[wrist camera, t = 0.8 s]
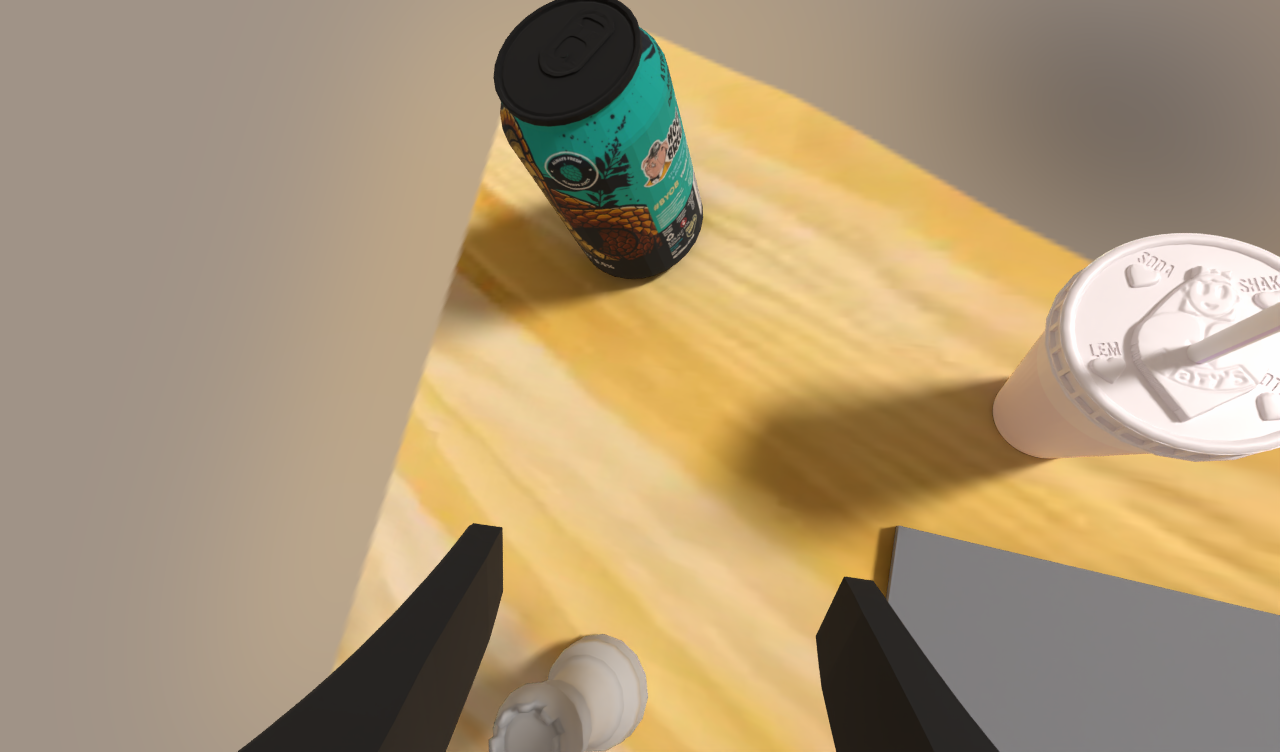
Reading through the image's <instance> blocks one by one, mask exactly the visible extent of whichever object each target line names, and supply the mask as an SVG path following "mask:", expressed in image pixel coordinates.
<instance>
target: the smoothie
mask: <svg viewBox="0 0 1280 752" xmlns="http://www.w3.org/2000/svg"><path fill="white" fill-rule="evenodd" d="M993 418H994V422H995V425H996V427H997V429H998V431H999V432H1000V434H1001V435H1002V437H1003V438H1004V439H1005V440H1006V441H1007V442H1008V443H1009V444H1010V445H1012V446H1013V447H1014V448H1016V449H1017V450H1019V451H1021V452H1023V453H1025V454H1028V455H1031V456H1034V457H1039V458H1069V457H1089V456H1109V455H1129V454H1149V453H1152V454H1154V455H1158V456H1164V457H1170V458H1176V459H1182V460H1188V461H1194V462H1198V461H1221V460H1235V459H1239V458H1242V457H1246V456H1249V455H1253V454H1256V453H1260V452H1263V451H1268V450H1272V449H1275V448H1279V447H1280V257H1278V256H1276V255H1274V254H1272V253H1270V252H1268V251H1266V250H1263V249H1261V248H1259V247H1256V246H1253V245H1251V244H1248V243H1245V242H1241V241H1238V240H1234V239H1230V238H1225V237H1220V236H1215V235H1206V234H1194V233H1173V234H1162V235H1156V236H1150V237H1146V238H1142V239H1137V240H1134V241H1131V242H1129V243H1126V244H1123V245H1121V246H1119V247H1116V248H1114V249H1112V250H1110V251H1108V252H1107V253H1105V254H1104V255H1102V256H1100V257H1099V258H1097V259H1096V260H1095V261H1093V262H1092V263H1091V264H1090V265H1089V266H1087V267H1086V268H1084V269H1083V270H1081V271H1079V272H1078V273H1076V274H1075V275H1074V276H1073V277H1072V278H1071V279H1070V280H1069V281H1068V283H1067V284H1066V285H1065V286H1064V287H1063V288H1062V289H1061V291H1060V292H1059V293H1058V294H1057V295H1056V297H1055V300H1054V302H1053V304H1052V307H1051V309H1050V311H1049V314H1048V316H1047V318H1046V329H1045V331H1044V332H1043V333H1042V335H1041V336H1040V337H1039V339H1038V340H1037V341H1036V343H1035V344H1034V345H1033V347H1032V348H1031V349H1030V351H1029V352H1028V353H1027V355H1026V356H1025V357H1024V359H1023V360H1022V361H1021V363H1020V364H1019V365H1018V367H1017V368H1016V369H1015V371H1014V372H1013V373H1012V375H1011V376H1010V377H1009V379H1008V380H1007V381H1006V383H1005V384H1004V385H1003V387H1002V388H1001V389H1000V391H999V392H998V394H997V396H996V398H995V401H994V404H993Z"/></svg>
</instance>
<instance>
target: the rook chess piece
mask: <svg viewBox="0 0 1280 752" xmlns="http://www.w3.org/2000/svg"><path fill="white" fill-rule="evenodd" d="M647 699H648V693H647V682H646V674H645V672H644V670H643V668H642V666H641V663H640V661H639V659H638V657H637V655H636V654H635V653H634V652H633V651H632V650H631V649H630V648H629V647H628V646H627V645H626V644H625V643H624V642H623V641H621V640H618V639H616V638H613V637H611V636H608V635H605V634H600V635H588V636H585V637H583V638H581V639H580V640H578V641H576V642H574V643H573V644H571V645H570V646H569V647H568V648H566V649H564V650H563V652H562V653H561V654H560V656H559V657H558V658H557V660H556V661H555V662H554V664H553V665H552V667H551V669H550V673H549V676H548V680H546V681H544V682H542V683H527V684H525V685H523V686H521V687H520V688H518V689H516V690H515V691H513V692H511V693H510V695H509V696H508V697H507V699H506V700H505V701H504V703H503V704H502V705H501V707H500V708H499V711H498V714H497V717H496V720H495V722H494V727H493V737H492V738H491V739H489V752H593V751H607V750H609V749H610V748H612V747H614V746H616V745H617V744H619V743H621V742H623V741H624V740H625V738H627V737H629V736H630V735H631V734H632V732H633V731H634V730H635V728H636V727H637V726H638V724H639V723H640V721H641V720H642V719H643V715H644V711H645V707H646V703H647Z"/></svg>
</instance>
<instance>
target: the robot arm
mask: <svg viewBox="0 0 1280 752" xmlns="http://www.w3.org/2000/svg"><path fill="white" fill-rule="evenodd" d="M502 593H503V535H502V527H496V526H489V525H482V524H475V523H473V524H472V525H470V526H468V528H467V529H466V530H465V532H464V533H463V534H462V536H461V537H460V538H459V539H458V541H457V542H456V543H455V544H454V546H453V547H452V548H451V549H450V551H449V552H448V553H447V554H446V556H445V557H444V558H443V559H442V560H441V562H440V563H439V564H438V565H437V566H436V567H435V569H434V570H433V571H432V572H431V573H430V574H429V575H428V577H427V578H426V579H425V580H424V581H423V582H422V583H421V584H420V586H419V587H418V588H417V589H416V590H415V591H414V592H413V593H412V594H411V595H410V596H409V598H408V599H407V600H406V601H405V602H404V603H403V604H402V605H401V606H400V607H399V608H398V610H397V611H396V612H395V613H394V614H393V615H392V616H391V617H390V618H389V619H388V620H387V621H386V622H385V623H384V624H383V625H382V626H381V627H380V628H379V629H378V630H377V631H376V632H375V633H374V634H373V635H372V636H371V637H370V638H369V639H368V640H367V641H366V642H365V643H364V644H363V645H362V646H361V647H360V648H359V649H358V650H357V651H356V652H355V653H354V654H352V655H351V656H350V657H349V658H348V659H347V660H346V661H345V662H344V663H343V664H342V665H341V666H340V667H338V668H337V669H336V670H335V671H334V672H333V673H332V674H331V675H330V676H329V677H328V678H326V679H325V680H324V681H323V682H322V683H321V684H319V685H318V686H317V687H316V688H315V689H314V690H313V691H312V692H310V693H309V694H308V695H307V696H306V697H305V698H304V699H302V700H301V701H300V702H299V703H298V704H296V705H295V706H294V707H293V708H291V709H290V710H289V711H288V712H287V713H285V714H284V715H283V716H282V717H280V718H279V719H278V720H277V721H276V722H274V723H273V724H272V725H271V726H270V727H268V728H267V729H266V730H265V731H263V732H262V733H261V734H260V735H258V736H257V737H256V738H254V739H253V740H252V741H251V742H250V743H248V744H247V745H246V746H244V747H243V748H242V749H240V750H239V751H238V752H446V749H447V747H448V744H449V742H450V739H451V737H452V734H453V732H454V729H455V727H456V724H457V722H458V719H459V717H460V714H461V711H462V709H463V706H464V704H465V701H466V699H467V696H468V694H469V691H470V689H471V686H472V684H473V681H474V679H475V676H476V673H477V671H478V668H479V666H480V663H481V661H482V658H483V655H484V653H485V650H486V648H487V645H488V642H489V640H490V636H491V633H492V629H493V626H494V622H495V619H496V615H497V611H498V608H499V604H500V600H501V597H502ZM816 643H817V653H818V662H819V671H820V678H821V686H822V691H823V696H824V701H825V705H826V709H827V714H828V718H829V722H830V727H831V731H832V735H833V740H834V744H835V748H836V752H999V750H998V749H997V748H996V747H995V745H994V744H993V743H992V742H991V740H990V739H989V738H988V737H987V736H986V734H985V733H984V732H983V731H982V729H981V728H980V727H979V726H978V724H977V723H976V722H975V721H974V719H973V718H972V717H971V716H970V714H969V713H968V712H967V710H966V709H965V708H964V707H963V705H962V704H961V703H960V701H959V700H958V699H957V697H956V696H955V695H954V693H953V692H952V691H951V689H950V688H949V687H948V685H947V684H946V683H945V681H944V680H943V679H942V677H941V676H940V675H939V673H938V672H937V670H936V669H935V668H934V666H933V665H932V664H931V662H930V661H929V660H928V658H927V657H926V655H925V654H924V653H923V651H922V650H921V648H920V647H919V646H918V644H917V643H916V641H915V640H914V638H913V637H912V636H911V634H910V633H909V631H908V630H907V628H906V627H905V626H904V624H903V623H902V621H901V620H900V618H899V617H898V616H897V614H896V613H895V611H894V610H893V608H892V607H891V605H890V604H889V603H888V601H887V600H886V598H885V597H884V595H883V594H882V593H881V591H880V590H879V588H878V587H877V586H876V584H875V583H874V581H871V580H864V579H858V578H851V577H844V578H843V580H842V582H841V584H840V586H839V588H838V591H837V593H836V595H835V597H834V599H833V601H832V603H831V605H830V607H829V609H828V612H827V614H826V616H825V618H824V620H823V622H822V624H821V626H820V628H819V630H818V633H817V635H816Z"/></svg>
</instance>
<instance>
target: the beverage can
mask: <svg viewBox="0 0 1280 752" xmlns="http://www.w3.org/2000/svg"><path fill="white" fill-rule="evenodd" d="M494 83H495V89H496V92H497V94H498V96H499V98H500V100H501V109H500V115H501V122H502V128H503V131H504V133H505V136H506V138H507V140H508V142H509V144H510V146H511V147H512V149H513V150H514V151H515V153H516V154H517V156H518V157H519V159H520V160H521V162H522V163H523V164H524V166H525V167H526V169H527V170H528V172H529V173H530V175H531V176H532V177H533V179H534V180H535V182H536V183H537V185H538V186H539V188H540V189H541V190H542V192H543V193H544V195H545V196H546V198H547V199H548V201H549V202H550V203H551V205H552V206H553V208H554V209H555V211H556V212H557V214H558V215H559V216H560V218H561V219H562V221H563V222H564V224H565V225H566V227H567V228H568V229H569V231H570V232H571V234H572V235H573V237H574V238H575V239H576V241H577V242H578V244H579V245H580V247H581V248H582V250H583V251H584V252H585V254H586V255H587V257H588V258H589V259H590V260H591V262H592V263H593V264H594V265H595V266H596V267H598V268H599V269H601V270H602V271H603V272H605V273H608V274H610V275H613V276H615V277H621V278H626V279H638V278H645V277H650V276H654V275H656V274H659V273H661V272H663V271H666V270H667V269H669V268H670V267H672V266H673V265H675V264H677V263H678V262H679V261H680V260H681V259H682V258H683V257H684V256H685V255H686V254H687V253H688V252H689V250H690V249H691V247H692V246H693V245H694V243H695V242H696V239H697V237H698V235H699V232H700V230H701V225H702V220H703V206H702V202H701V198H700V194H699V190H698V186H697V182H696V178H695V174H694V170H693V166H692V162H691V158H690V153H689V149H688V145H687V141H686V137H685V133H684V129H683V125H682V121H681V117H680V113H679V109H678V105H677V101H676V97H675V93H674V89H673V85H672V81H671V77H670V73H669V69H668V65H667V62H666V59H665V55H664V53H663V52H662V50H661V49H660V47H659V46H658V44H657V42H656V41H655V39H654V38H653V37H652V36H650V35H649V34H648V33H647V32H646V31H645V30H643V29H642V28H640V27H639V25H638V22H637V20H636V18H635V16H634V15H633V13H632V12H631V10H630V9H629V8H628V7H626V6H625V5H624V4H623V3H621V2H620V1H618V0H555V1H552V2H550V3H548V4H546V5H544V6H542V7H540V8H538V9H537V10H536V11H534V12H533V13H532V14H530V15H528V16H527V17H526V18H525V19H524V20H523V21H522V22H520V24H518V25H517V26H516V27H515V28H514V30H513V31H512V32H511V33H510V35H509V36H508V37H507V39H506V40H505V42H504V44H503V46H502V48H501V49H500V51H499V54H498V57H497V60H496V63H495V69H494Z"/></svg>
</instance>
